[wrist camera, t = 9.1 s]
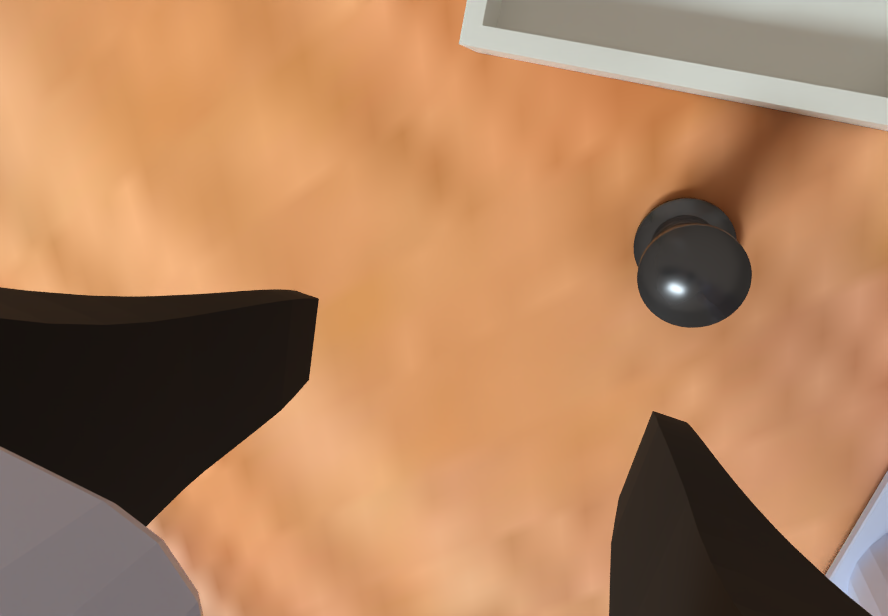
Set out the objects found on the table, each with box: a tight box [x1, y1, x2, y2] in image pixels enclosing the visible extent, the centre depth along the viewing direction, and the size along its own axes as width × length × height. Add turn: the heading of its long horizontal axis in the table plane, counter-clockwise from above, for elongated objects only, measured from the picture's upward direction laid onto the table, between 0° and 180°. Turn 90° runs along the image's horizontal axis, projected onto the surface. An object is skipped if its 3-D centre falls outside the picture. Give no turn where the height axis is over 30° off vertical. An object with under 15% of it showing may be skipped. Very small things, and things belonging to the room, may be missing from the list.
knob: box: [634, 198, 752, 327], centre depth 16 cm, size 3×3×4 cm
